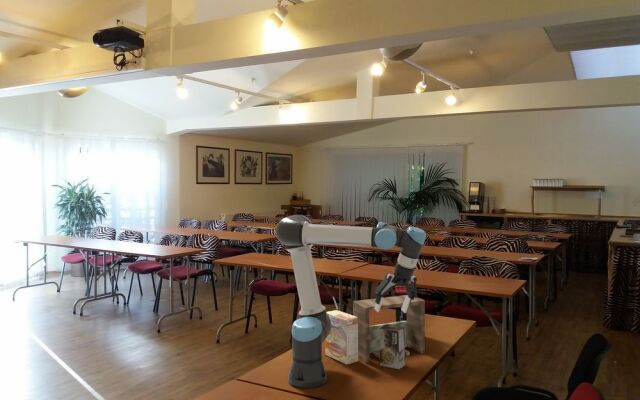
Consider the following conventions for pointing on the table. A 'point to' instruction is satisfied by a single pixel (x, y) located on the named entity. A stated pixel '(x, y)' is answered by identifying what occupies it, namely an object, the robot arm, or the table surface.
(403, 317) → the graphics card box
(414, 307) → the bridge shelf
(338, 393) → the table surface
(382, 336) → the coffee box
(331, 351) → the coffeecake box
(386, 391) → the table surface
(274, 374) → the table surface
